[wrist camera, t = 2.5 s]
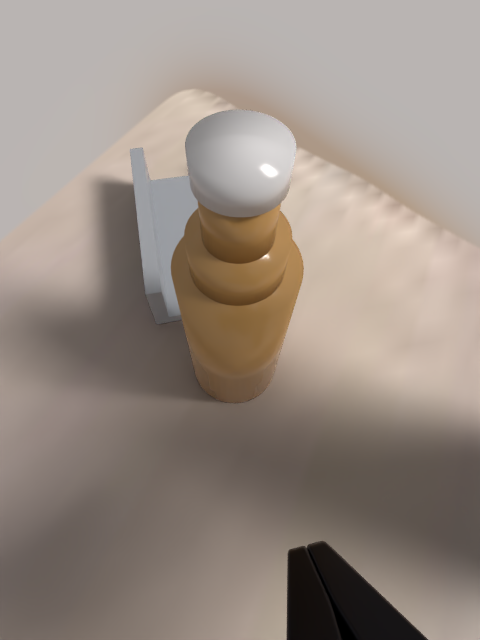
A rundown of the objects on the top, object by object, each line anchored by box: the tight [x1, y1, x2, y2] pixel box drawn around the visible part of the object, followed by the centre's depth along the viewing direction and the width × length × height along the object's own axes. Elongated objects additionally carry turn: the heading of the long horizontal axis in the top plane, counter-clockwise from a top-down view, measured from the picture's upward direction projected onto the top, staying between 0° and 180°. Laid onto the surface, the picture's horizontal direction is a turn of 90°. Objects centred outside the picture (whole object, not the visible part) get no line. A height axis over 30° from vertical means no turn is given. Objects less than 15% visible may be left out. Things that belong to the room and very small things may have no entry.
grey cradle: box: [130, 148, 198, 324], centre depth 23 cm, size 11×8×3 cm
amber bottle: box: [171, 110, 304, 403], centre depth 14 cm, size 4×4×14 cm
